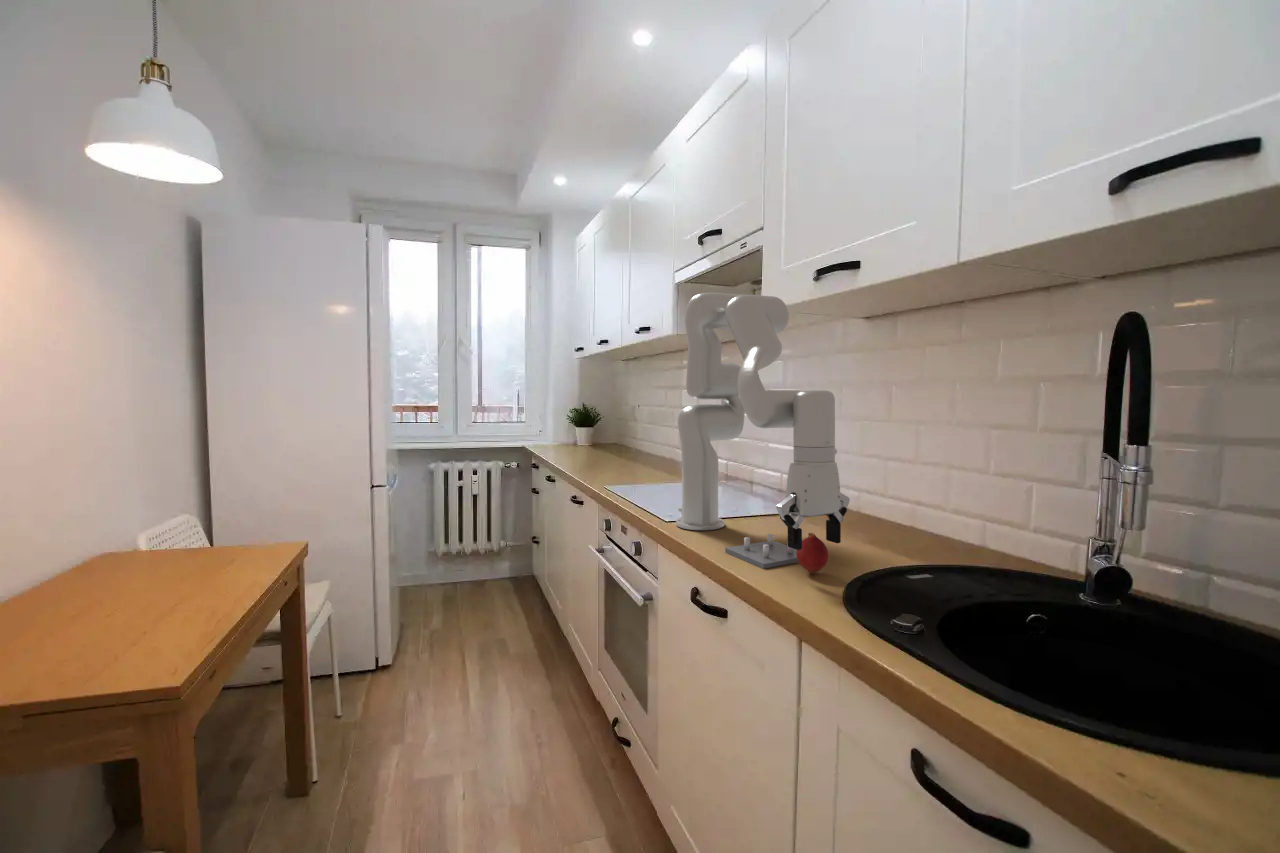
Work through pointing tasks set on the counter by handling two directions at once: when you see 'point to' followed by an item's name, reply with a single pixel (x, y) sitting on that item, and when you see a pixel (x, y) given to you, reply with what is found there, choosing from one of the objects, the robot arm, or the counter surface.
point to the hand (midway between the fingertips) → (814, 544)
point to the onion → (812, 554)
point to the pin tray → (764, 553)
